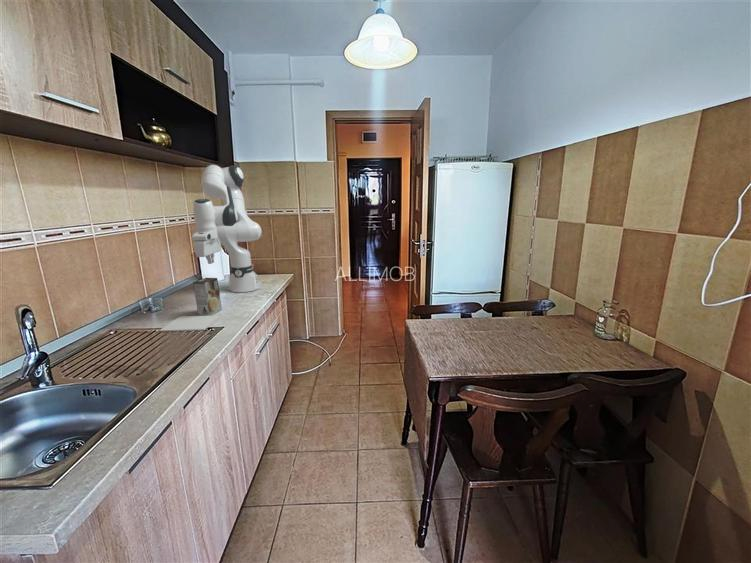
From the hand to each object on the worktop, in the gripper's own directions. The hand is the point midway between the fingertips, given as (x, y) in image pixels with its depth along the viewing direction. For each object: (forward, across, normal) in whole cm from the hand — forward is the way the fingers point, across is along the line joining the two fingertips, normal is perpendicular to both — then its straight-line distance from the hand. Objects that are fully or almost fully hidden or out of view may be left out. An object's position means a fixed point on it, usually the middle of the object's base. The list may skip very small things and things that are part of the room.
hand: (211, 263), depth 161 cm
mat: (+22, +22, -2) cm, 31 cm away
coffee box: (+22, +8, 0) cm, 24 cm away
